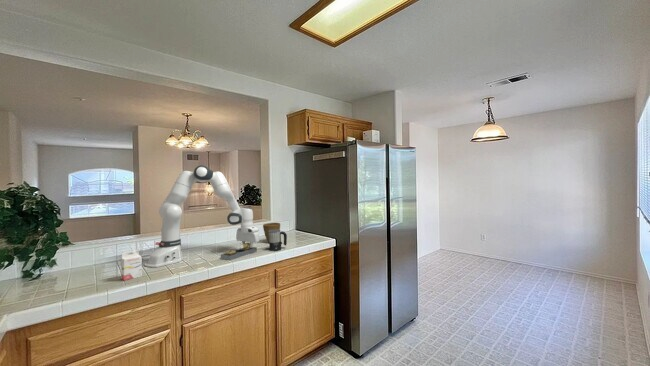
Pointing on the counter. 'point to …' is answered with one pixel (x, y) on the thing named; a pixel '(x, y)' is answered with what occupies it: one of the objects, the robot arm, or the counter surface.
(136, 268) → the ink cartridge box
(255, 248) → the grey compartment tray
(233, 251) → the nut
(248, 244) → the cage nut
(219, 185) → the robot arm
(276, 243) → the milk frother
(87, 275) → the counter surface
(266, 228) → the plant pot
